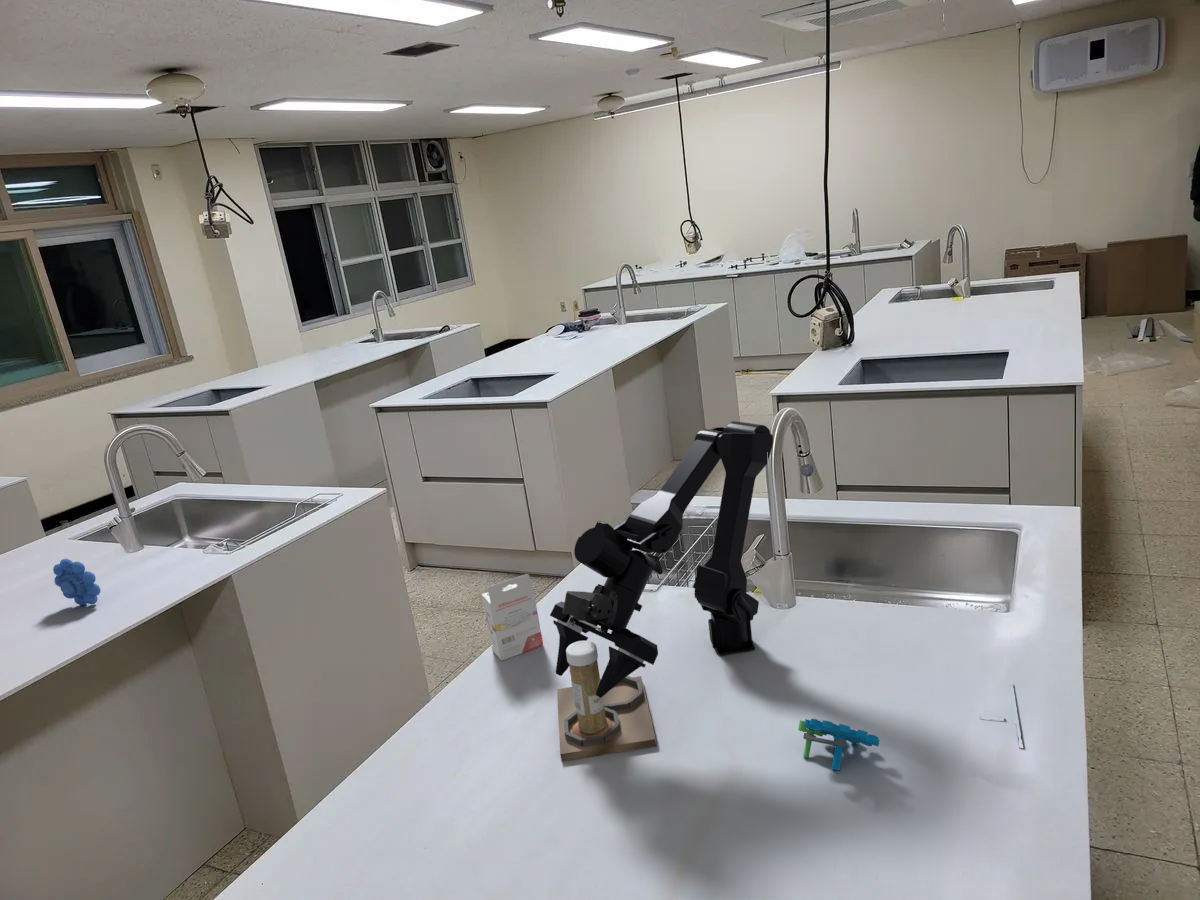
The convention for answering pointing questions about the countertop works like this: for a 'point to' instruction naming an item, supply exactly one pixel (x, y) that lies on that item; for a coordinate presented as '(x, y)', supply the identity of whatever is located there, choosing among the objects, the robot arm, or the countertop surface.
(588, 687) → the sprinkles bottle
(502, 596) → the ink cartridge box
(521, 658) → the countertop surface
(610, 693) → the board
